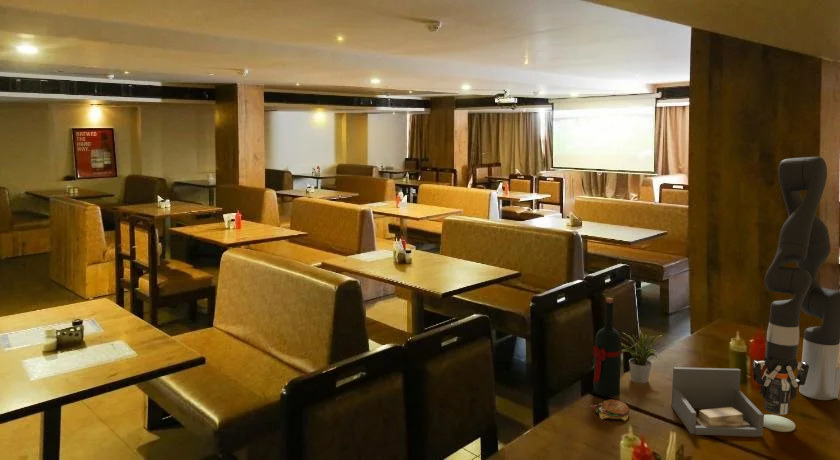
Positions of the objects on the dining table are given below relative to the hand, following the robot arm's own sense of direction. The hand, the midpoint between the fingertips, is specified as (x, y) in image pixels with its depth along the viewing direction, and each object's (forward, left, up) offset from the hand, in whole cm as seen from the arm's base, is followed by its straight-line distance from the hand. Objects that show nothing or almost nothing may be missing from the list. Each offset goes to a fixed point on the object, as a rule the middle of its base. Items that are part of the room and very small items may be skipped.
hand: (777, 398), depth 170 cm
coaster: (0, 0, -8) cm, 8 cm away
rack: (+16, -1, -8) cm, 18 cm away
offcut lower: (+16, +3, -8) cm, 18 cm away
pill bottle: (0, 0, -4) cm, 4 cm away
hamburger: (+45, -4, -8) cm, 46 cm away
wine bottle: (+43, -18, -8) cm, 47 cm away
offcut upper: (+16, +3, -6) cm, 17 cm away
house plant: (+29, -30, -8) cm, 42 cm away
